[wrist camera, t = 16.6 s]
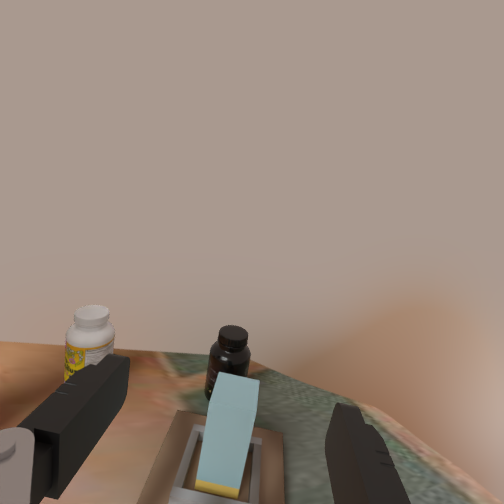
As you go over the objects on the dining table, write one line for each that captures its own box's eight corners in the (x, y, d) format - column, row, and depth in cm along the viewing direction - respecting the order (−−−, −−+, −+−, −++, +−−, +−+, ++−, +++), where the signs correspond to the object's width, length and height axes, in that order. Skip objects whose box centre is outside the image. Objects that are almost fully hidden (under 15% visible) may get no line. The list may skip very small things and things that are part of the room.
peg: (194, 489, 33) (209, 401, 30) (205, 450, 38) (219, 371, 35) (237, 499, 33) (256, 411, 30) (242, 459, 38) (259, 380, 35)
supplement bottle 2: (224, 375, 55) (235, 318, 52) (250, 397, 50) (263, 336, 48) (195, 390, 50) (205, 327, 47) (221, 416, 45) (234, 348, 43)
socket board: (122, 544, 28) (124, 523, 28) (176, 416, 44) (178, 401, 43) (283, 582, 28) (290, 562, 27) (280, 439, 43) (284, 424, 43)
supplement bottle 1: (60, 377, 47) (62, 304, 44) (104, 365, 51) (109, 299, 48) (68, 404, 42) (71, 325, 39) (116, 389, 47) (122, 317, 44)
